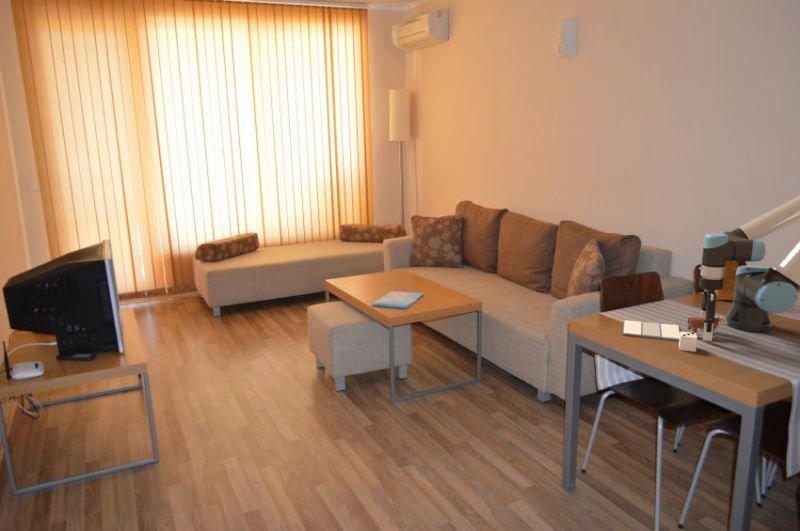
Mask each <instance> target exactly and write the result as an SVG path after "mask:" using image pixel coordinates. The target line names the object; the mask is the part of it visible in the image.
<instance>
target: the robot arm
mask: <svg viewBox="0 0 800 531" xmlns="http://www.w3.org/2000/svg"><path fill="white" fill-rule="evenodd" d="M798 221H800V195H798V196H797V197H795V198H793V199H790V200H789V201H787V202H785V203H783V204H781V205H780V206H777V207H775V208H773V209H771V210H770V211H768V212H766V213H764V214H762V215H759V216H758V217H756V218H755V219H753V220H750V221H749V222H746V223H745V224H743V225H741V226H738V227H736V228H735V229H732V230H731V231H728V230H727V231H721V232H720V233H719V232H709V233H706V234H705V236H704V239H703V242H702V243H703V244H702V255H701V256H702V257H701V266H699V268H698V270H700V277H699V283H698V286H699V287H700V288H701V289H703V293H702V301H701V308H700V309H701V312H700V317H702V318H705V317H706V320H704V321H703V323H705V326H704V330H703V337H702V341H710V342H712V341H713V336H712V335H713V334H714V331H713V326H714V323H715V316H716V306H717V300H716V298H717V294H716V292H715V290H721V289H722V288H723V281H724V279H723V277H724V274H725V264H726V261H736V262H749V263H753V262H761V261H763V260H764V259H765V255H766V244H765V242H764V241H763V239H765V238H767V237H769V236H771V235H772V234H774V233H777V232H778V231H780V230H782V229H784V228H786V227H788V226H790V225H792V224H794V223H797V222H798ZM799 291H800V239H799V240H798V242H796V244H794V246H793V247H792V248H791V250H790V251H789V252H788V253H787V254H786V255H785V256H784V257H783V259H781V261H780V262H779V263H778V264H777V265H772V266H764V265H762V266H761V265H741V266H739V267H738V269H737V272H736V279H735V289H734V298H733V301H732V304H731V307H730V308H729V310H728V312H727V314H726V316H725V318H726V320H727V322H728V324H727V325H726V326H729V327H730V328H732V329H733V328H734V329H737V330H741V331H745V332H746V331H747V332H757V333H761V332H768V331H770V330H771V329H772V323H773V322H772V318H771V315H770V314H781V313H785V312H787V311H788V312H789V310H791V309H793V307H794V306H795V305H796V303H797V302H798V299H799V298H798V292H799ZM710 319H712V320H710Z"/></svg>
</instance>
